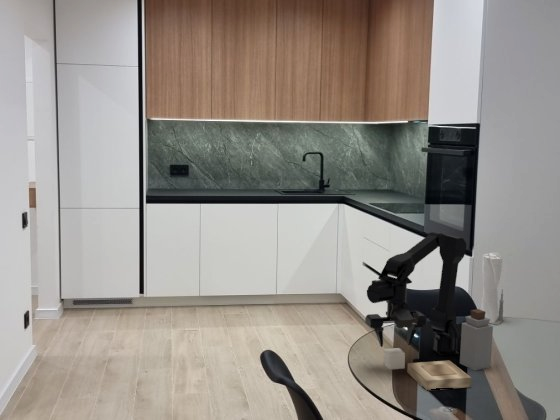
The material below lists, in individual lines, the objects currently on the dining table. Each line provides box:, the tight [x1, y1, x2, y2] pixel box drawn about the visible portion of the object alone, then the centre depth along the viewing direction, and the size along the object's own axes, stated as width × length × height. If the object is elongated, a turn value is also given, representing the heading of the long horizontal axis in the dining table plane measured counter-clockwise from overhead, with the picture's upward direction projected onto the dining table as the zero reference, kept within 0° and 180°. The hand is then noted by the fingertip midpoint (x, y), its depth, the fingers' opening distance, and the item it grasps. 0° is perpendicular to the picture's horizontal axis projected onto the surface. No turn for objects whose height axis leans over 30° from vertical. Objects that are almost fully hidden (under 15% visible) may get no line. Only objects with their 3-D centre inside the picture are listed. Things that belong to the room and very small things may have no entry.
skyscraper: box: [480, 252, 504, 326], centre depth 261 cm, size 8×8×28 cm
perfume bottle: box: [459, 308, 494, 371], centre depth 217 cm, size 7×7×18 cm
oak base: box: [406, 360, 472, 391], centre depth 205 cm, size 14×14×3 cm
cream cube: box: [383, 347, 406, 370], centre depth 216 cm, size 5×5×5 cm
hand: (395, 345), depth 215 cm, fingers open, 9 cm apart
